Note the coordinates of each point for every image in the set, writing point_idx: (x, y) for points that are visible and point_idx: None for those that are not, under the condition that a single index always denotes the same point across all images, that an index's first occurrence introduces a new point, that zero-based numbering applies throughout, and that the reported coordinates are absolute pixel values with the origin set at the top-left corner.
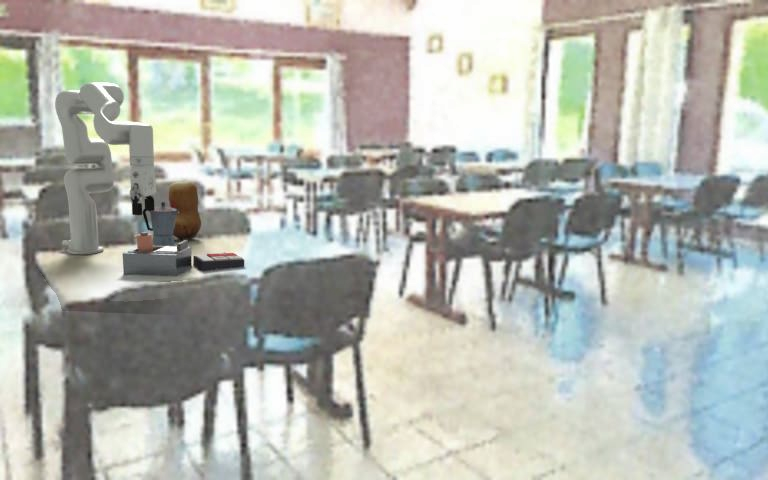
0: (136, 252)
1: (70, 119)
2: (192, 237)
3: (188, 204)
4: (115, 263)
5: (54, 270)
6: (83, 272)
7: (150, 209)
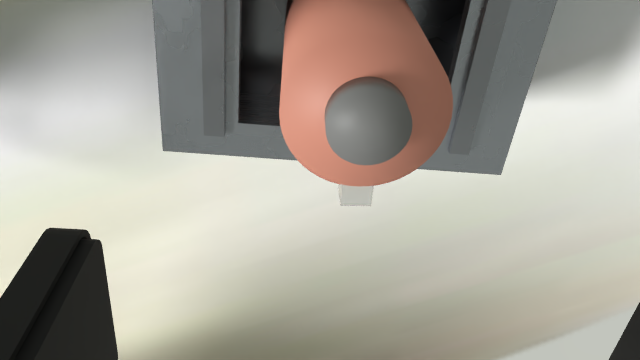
0: (486, 83)
1: None
2: None
3: None
4: (187, 233)
5: None
6: (409, 294)
7: (99, 295)
